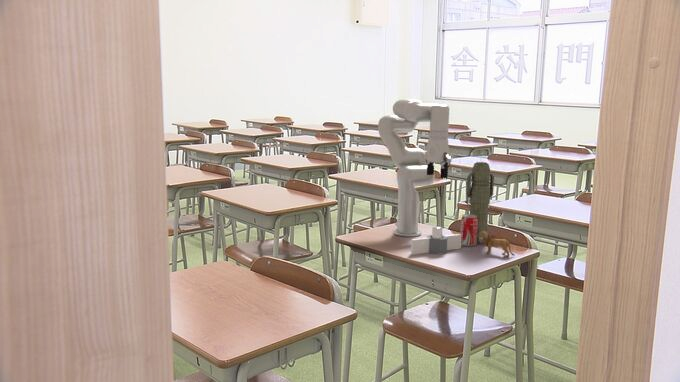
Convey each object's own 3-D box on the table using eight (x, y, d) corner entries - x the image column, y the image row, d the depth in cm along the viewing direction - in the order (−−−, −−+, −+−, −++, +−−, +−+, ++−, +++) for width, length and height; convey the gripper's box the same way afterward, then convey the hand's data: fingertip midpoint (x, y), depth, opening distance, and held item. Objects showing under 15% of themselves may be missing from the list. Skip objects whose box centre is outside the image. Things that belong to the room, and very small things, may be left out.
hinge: (406, 251, 233) (406, 237, 232) (454, 245, 244) (454, 232, 242) (417, 256, 226) (417, 242, 225) (465, 250, 236) (466, 236, 235)
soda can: (475, 243, 248) (477, 214, 246) (477, 247, 241) (479, 217, 239) (458, 242, 249) (460, 213, 247) (460, 246, 242) (462, 217, 240)
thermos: (494, 242, 249) (499, 163, 243) (471, 244, 246) (475, 164, 240) (483, 237, 258) (487, 161, 252) (460, 239, 254) (464, 161, 248)
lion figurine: (476, 253, 232) (477, 232, 231) (479, 250, 237) (480, 229, 236) (513, 258, 226) (515, 236, 225) (515, 255, 231) (517, 233, 229)
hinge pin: (429, 250, 236) (430, 226, 234) (437, 249, 237) (438, 226, 236) (435, 252, 232) (436, 229, 230) (443, 251, 234) (444, 228, 232)
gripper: (419, 133, 239) (417, 174, 242) (443, 137, 224) (441, 179, 227) (434, 133, 243) (432, 173, 246) (459, 136, 227) (457, 178, 230)
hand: (436, 176), depth 236 cm, fingers open, 9 cm apart
